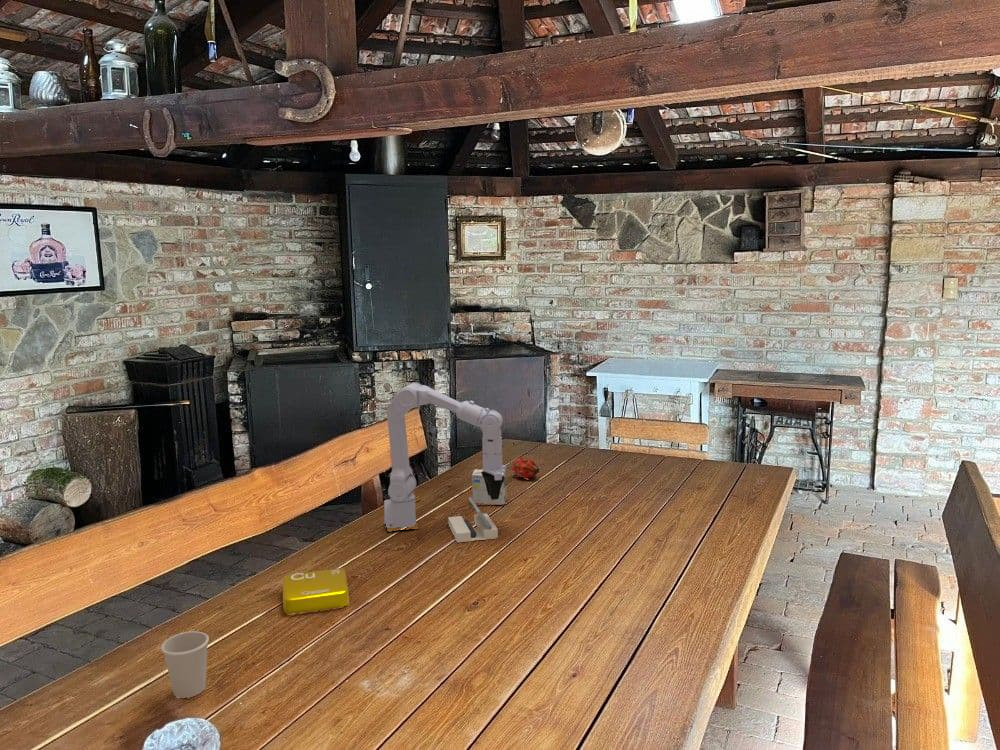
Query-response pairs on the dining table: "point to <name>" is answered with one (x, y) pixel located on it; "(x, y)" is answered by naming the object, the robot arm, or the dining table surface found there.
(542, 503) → the dining table surface
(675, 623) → the dining table surface
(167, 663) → the dixie cup
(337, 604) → the element tile
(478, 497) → the light bulb box
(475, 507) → the duct cover
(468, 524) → the dark grey rod
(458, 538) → the base
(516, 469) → the dragon fruit
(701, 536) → the dining table surface
